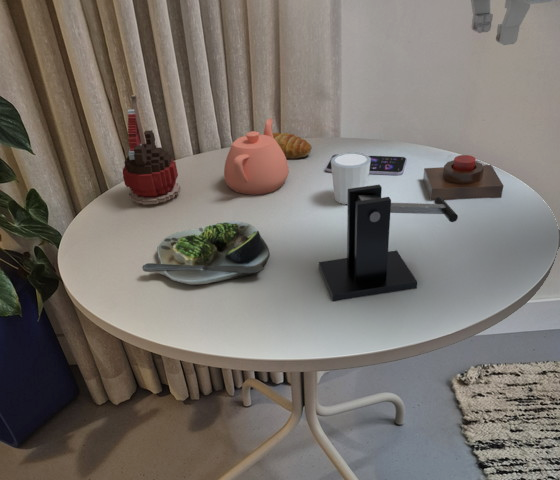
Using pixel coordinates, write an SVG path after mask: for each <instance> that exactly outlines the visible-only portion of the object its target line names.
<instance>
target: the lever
mask: <svg viewBox="0 0 560 480" xmlns="http://www.w3.org/2000/svg"><path fill="white" fill-rule="evenodd" d="M377 198H379V196H378V195H358V197H357V201H363V200H370V199H377ZM433 202H434V203H418V202H417V203H415V202H414V203H412V202H391V211H390V214H417V215H418V214H420V215H421V214H422V215H423V214H424V215H443V216H444V217H445V218H446V219H447V221H449V222H450V223H455V222H457V220H458V218H459V215H458V214H457V213H456V212H455V210H454V209H453V208H452V207H451V206H450V205H449V204H448V203H447V202H446V200H443V199H442V198H441V197H437V198H436V199H435V200H434V201H433Z"/></svg>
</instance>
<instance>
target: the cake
mask: <svg viewBox="0 0 560 480" xmlns="http://www.w3.org/2000/svg"><path fill="white" fill-rule="evenodd" d="M130 98H131V103H132V106H133V109H131V108H130V109H128V110H127V113H126V115H127V136H128V145H129V147H128V148H129V150H128V156H127V157H126V158H125V161H124V162H123V163H124V167H123V168H122V179H123V183H124V186H126V188H129V189H130V191H129V193H128V198H130V200H131V201H133V202H134V203H136V204H142V205H158V204H159V203H165V202H166V201H170V200H171V199H174V198H175V197H176V196H179V195H180V191H181V185H179V183H178V182H177V178H178V177H179V173H178V168H177V167H178V166H177V162H176V161H175V160H174V158H172V156H171V154H169V151H167V150H165V148H163V147H162V146H161V147H157V145H156V142H155V141H156V137H155V132H153V129H152V130H144V125H143V120H142V116H141V112H140V107H139V103H138V97H137V95H136V94H132V95H131V96H130Z"/></svg>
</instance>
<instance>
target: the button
mask: <svg viewBox="0 0 560 480" xmlns="http://www.w3.org/2000/svg"><path fill="white" fill-rule="evenodd" d="M453 160H454V164H453V169H455V170H457V171H472V170H474V168H475V162H476V161H477V159H476V157H474V156H473V155H468V154H460V155H456V156H455V157H454V158H453Z"/></svg>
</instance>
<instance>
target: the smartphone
mask: <svg viewBox="0 0 560 480" xmlns="http://www.w3.org/2000/svg"><path fill="white" fill-rule="evenodd" d="M339 154H340V153H339ZM339 154H338V153H337V154H333V155H331V156H330V158H329V160H328V162H327V164H326V166H325V171H326V172H328V173H332V168H331V159H332V158H333V157H334V156H336V155H339ZM367 155H368V156H369V157H370V158H371V162H370V170H369V175H388V176H389V175H391V176H399V175H402V174H404V173H405V172H404V171H405V167H406V164H407V162H408V161H407V157H406V156H395V155H394V156H393V155H392V156H391V155H369V154H367Z"/></svg>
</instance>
